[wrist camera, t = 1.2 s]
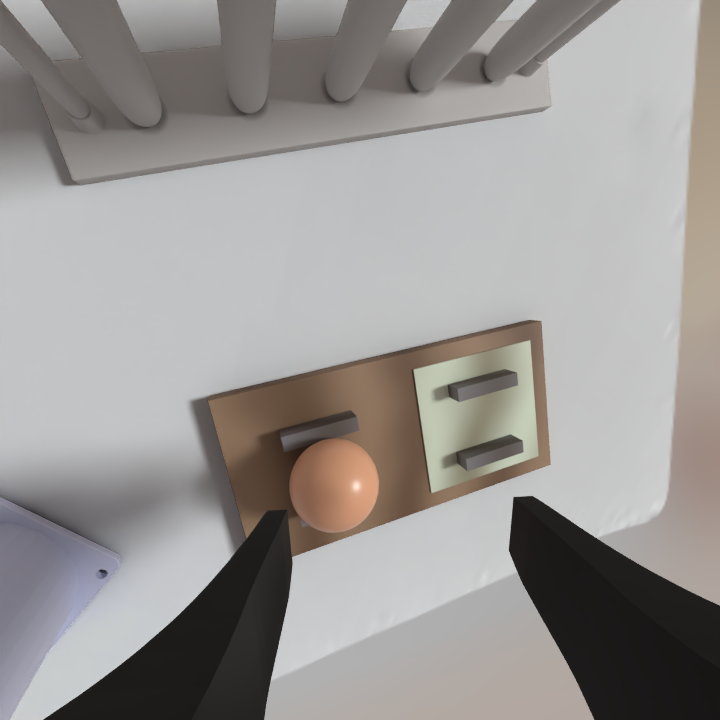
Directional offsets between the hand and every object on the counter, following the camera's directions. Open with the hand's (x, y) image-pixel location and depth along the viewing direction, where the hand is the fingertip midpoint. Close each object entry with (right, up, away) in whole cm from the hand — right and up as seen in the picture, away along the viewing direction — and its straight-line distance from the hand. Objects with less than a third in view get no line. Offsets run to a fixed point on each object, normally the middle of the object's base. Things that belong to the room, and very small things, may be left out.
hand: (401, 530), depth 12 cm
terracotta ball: (-3, -1, +7) cm, 7 cm away
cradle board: (+1, +1, +11) cm, 11 cm away
